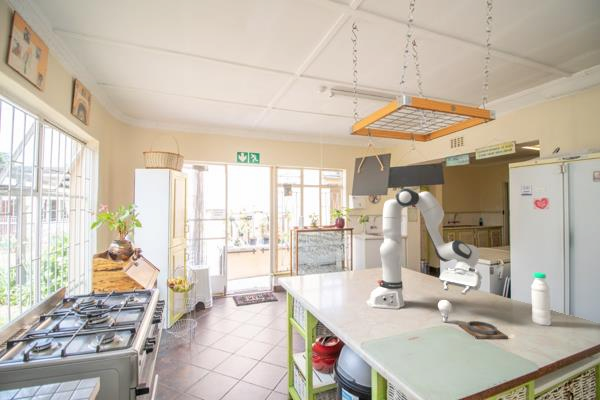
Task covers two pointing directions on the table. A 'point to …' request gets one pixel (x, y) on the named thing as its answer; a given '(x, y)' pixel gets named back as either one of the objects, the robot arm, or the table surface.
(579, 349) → the table surface
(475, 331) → the collar
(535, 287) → the water bottle
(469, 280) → the robot arm
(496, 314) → the table surface
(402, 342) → the table surface
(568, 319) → the table surface
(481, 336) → the board
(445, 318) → the lightbulb
